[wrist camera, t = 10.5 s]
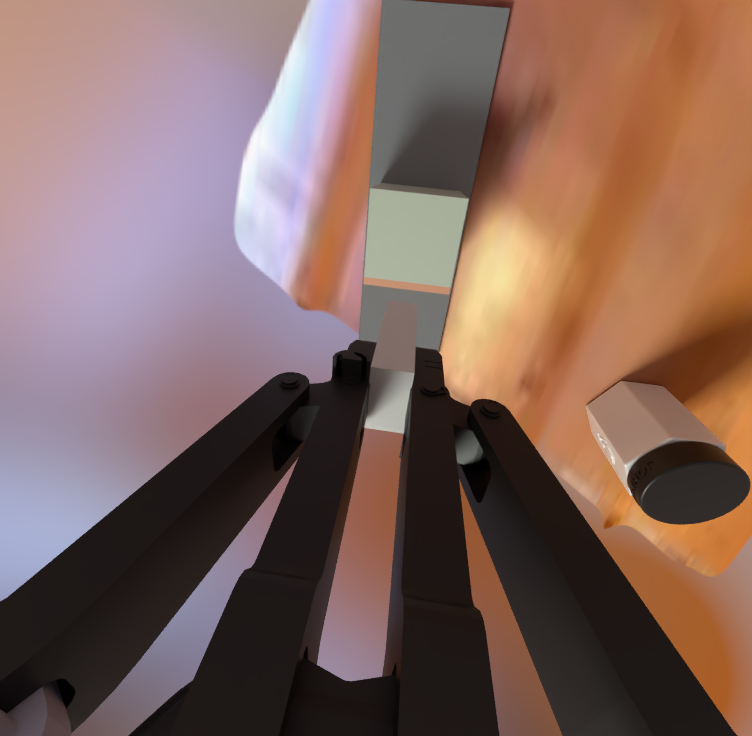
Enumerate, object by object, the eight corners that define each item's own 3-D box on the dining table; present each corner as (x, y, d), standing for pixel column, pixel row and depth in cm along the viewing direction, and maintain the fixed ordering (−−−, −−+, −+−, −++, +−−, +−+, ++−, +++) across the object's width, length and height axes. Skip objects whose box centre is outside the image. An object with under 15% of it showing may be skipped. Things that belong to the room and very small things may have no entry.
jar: (579, 390, 39) (634, 471, 29) (662, 368, 37) (754, 448, 27) (592, 446, 43) (644, 534, 33) (668, 429, 41) (750, 519, 30)
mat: (382, 1, 25) (382, -2, 24) (508, 10, 24) (510, 8, 24) (359, 343, 40) (358, 345, 39) (437, 354, 39) (437, 356, 39)
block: (373, 262, 34) (380, 182, 30) (444, 271, 34) (460, 191, 30) (363, 284, 28) (370, 188, 24) (449, 294, 28) (469, 198, 24)
